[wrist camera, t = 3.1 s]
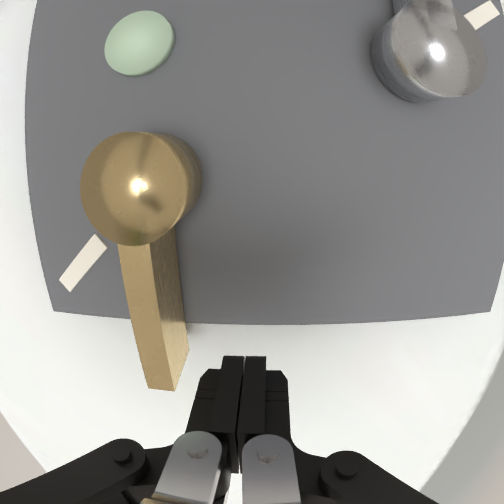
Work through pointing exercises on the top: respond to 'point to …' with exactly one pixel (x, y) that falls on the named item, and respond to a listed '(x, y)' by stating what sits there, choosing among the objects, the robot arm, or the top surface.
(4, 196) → the top surface
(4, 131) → the top surface
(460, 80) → the chrome lever handle
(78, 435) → the top surface
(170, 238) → the brass door handle
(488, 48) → the board
